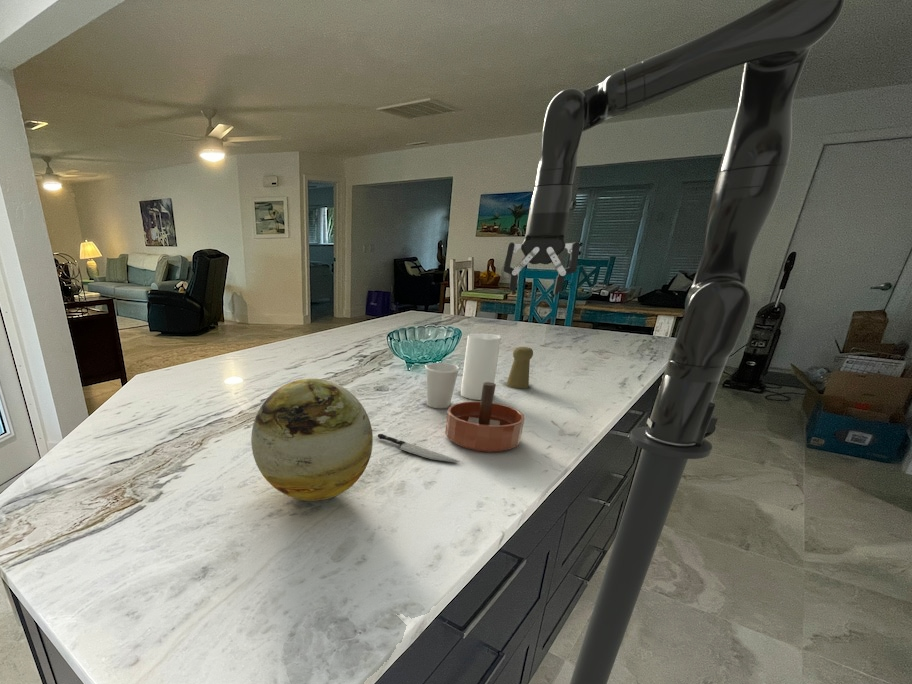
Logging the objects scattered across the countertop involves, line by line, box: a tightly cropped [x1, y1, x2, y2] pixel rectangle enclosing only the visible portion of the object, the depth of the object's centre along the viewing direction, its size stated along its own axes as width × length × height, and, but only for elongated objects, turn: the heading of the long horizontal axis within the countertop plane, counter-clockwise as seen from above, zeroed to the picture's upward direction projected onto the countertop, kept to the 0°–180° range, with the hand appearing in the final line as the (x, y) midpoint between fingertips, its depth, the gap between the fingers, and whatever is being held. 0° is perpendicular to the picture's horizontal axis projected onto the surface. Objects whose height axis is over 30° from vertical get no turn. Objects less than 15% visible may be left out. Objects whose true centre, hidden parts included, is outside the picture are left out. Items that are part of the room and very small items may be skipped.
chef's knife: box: [377, 433, 461, 463], centre depth 95 cm, size 19×1×3 cm
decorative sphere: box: [250, 378, 374, 502], centre depth 77 cm, size 20×20×20 cm
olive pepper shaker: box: [506, 346, 534, 389], centre depth 133 cm, size 6×6×11 cm
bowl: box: [444, 400, 525, 453], centre depth 99 cm, size 15×15×6 cm
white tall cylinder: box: [460, 332, 502, 401], centre depth 124 cm, size 8×8×16 cm
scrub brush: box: [468, 382, 500, 426], centre depth 98 cm, size 6×4×12 cm
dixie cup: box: [424, 362, 460, 409], centre depth 119 cm, size 8×8×10 cm
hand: (534, 293), depth 103 cm, fingers open, 8 cm apart
